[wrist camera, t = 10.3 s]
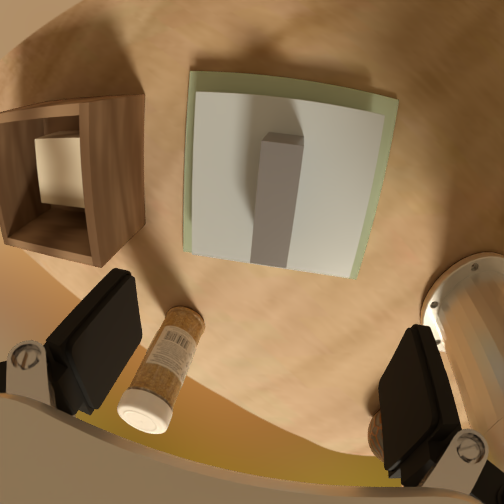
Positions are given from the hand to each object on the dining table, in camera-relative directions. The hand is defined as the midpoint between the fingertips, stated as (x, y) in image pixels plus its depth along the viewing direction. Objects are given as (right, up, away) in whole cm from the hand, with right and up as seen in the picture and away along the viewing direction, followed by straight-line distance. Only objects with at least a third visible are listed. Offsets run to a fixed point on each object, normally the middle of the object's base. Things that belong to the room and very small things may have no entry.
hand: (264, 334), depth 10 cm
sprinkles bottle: (-8, -5, +24) cm, 26 cm away
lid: (+2, +8, +15) cm, 17 cm away
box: (-16, +11, +16) cm, 26 cm away
